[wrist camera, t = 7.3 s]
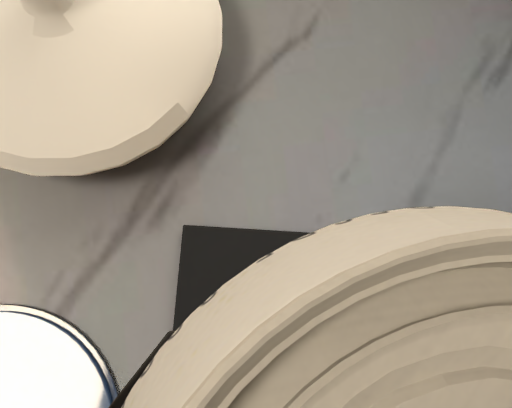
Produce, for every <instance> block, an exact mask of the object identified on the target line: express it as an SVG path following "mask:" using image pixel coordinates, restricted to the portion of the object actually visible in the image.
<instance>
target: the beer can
mask: <svg viewBox="0 0 512 408" xmlns="http://www.w3.org/2000/svg"><path fill="white" fill-rule="evenodd" d="M121 408H512V213H507V212H502V211H497V210H492V209H480V208H467V207H455V206H443V207H413V208H405V209H398V210H392V211H385V212H378V213H372V214H368V215H364V216H361V217H357V218H353V219H350V220H346V221H342V222H339V223H335V224H332V225H329V226H327V227H324V228H322V229H320V230H317V231H315V232H312V233H310V234H307V235H305V236H302V237H300V238H297V239H295V240H293V241H291V242H289V243H288V244H286V245H284V246H282V247H280V248H279V249H277V250H275V251H273V252H271V253H269V254H268V255H266V256H264V257H262V258H260V259H259V260H257V261H256V262H254V263H253V264H252V265H250V266H249V267H247V268H246V269H245V270H243V271H242V272H240V273H239V274H238V275H236V276H235V277H233V278H232V279H231V280H229V281H228V282H226V283H225V284H224V285H222V286H221V287H220V288H219V289H218V290H217V291H216V292H215V293H214V294H212V295H211V296H210V297H209V298H208V299H207V300H206V301H205V302H204V303H202V304H201V305H200V306H199V307H198V308H197V309H196V310H195V311H194V312H193V313H191V314H190V315H189V317H188V318H187V319H186V320H185V321H184V322H183V323H182V324H181V326H180V327H179V328H178V329H177V330H176V331H175V332H174V334H173V335H172V336H171V337H170V338H169V339H168V340H167V341H166V343H165V344H164V345H163V346H162V347H161V348H160V349H159V351H158V352H157V354H156V355H155V357H154V358H153V359H152V361H151V362H150V364H149V365H148V366H147V368H146V369H145V371H144V372H143V374H142V375H141V376H140V378H139V379H138V381H137V382H136V383H135V385H134V386H133V388H132V389H131V391H130V393H129V395H128V396H127V398H126V400H125V402H124V404H123V405H122V407H121Z"/></svg>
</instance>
